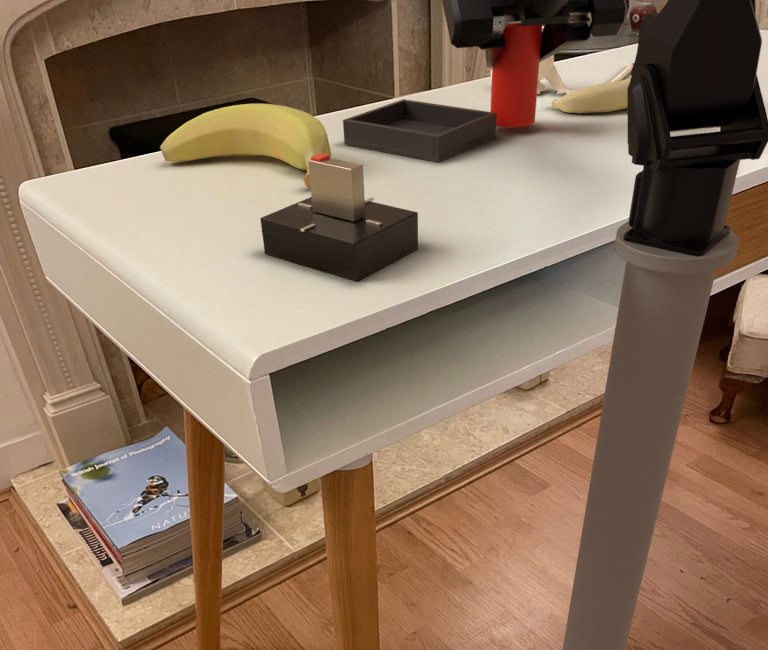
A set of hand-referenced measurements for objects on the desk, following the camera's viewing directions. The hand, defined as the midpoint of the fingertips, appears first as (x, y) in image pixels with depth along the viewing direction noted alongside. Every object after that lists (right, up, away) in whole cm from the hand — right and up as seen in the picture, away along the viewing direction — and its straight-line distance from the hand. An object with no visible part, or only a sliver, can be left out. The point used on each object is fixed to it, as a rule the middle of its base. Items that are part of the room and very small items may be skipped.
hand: (511, 62), depth 90 cm
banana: (-28, -15, -6) cm, 32 cm away
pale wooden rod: (+18, +8, +20) cm, 28 cm away
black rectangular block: (-18, -29, -24) cm, 42 cm away
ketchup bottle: (0, -5, +3) cm, 6 cm away
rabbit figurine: (+4, +5, +17) cm, 18 cm away
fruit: (+14, 0, +10) cm, 18 cm away
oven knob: (-18, -27, -26) cm, 42 cm away
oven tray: (-10, -9, 0) cm, 14 cm away
